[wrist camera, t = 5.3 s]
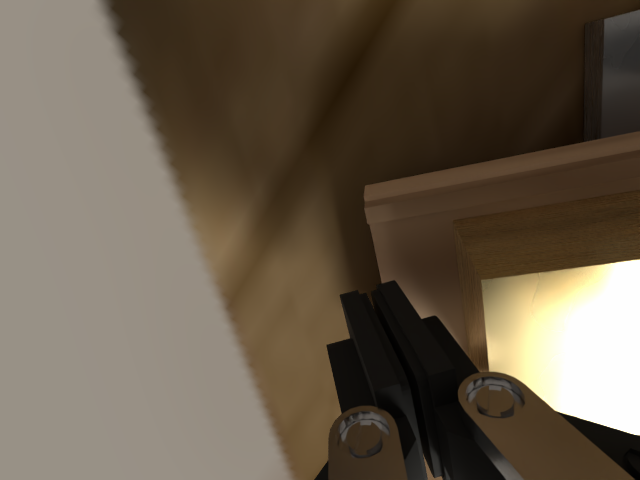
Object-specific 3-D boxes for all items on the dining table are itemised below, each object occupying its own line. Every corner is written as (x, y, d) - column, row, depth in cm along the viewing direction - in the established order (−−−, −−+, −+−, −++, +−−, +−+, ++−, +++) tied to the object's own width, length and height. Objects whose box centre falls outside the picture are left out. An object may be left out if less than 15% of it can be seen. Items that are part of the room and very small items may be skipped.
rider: (452, 220, 11) (481, 280, 8) (692, 181, 10) (837, 233, 7) (467, 350, 13) (495, 441, 10) (673, 331, 12) (780, 428, 9)
